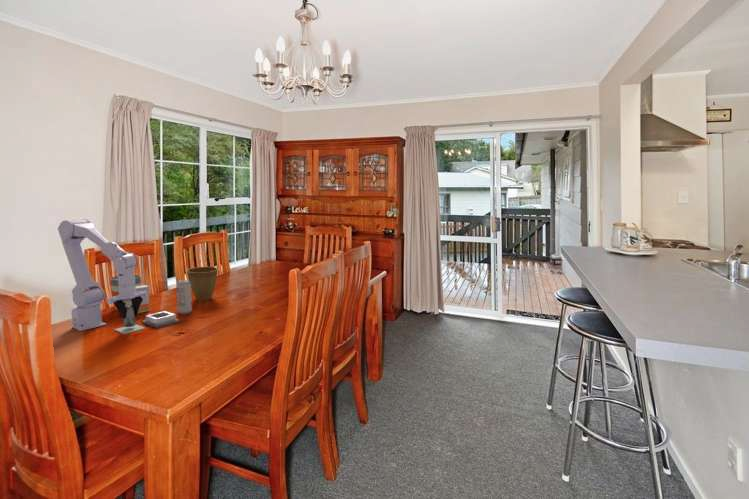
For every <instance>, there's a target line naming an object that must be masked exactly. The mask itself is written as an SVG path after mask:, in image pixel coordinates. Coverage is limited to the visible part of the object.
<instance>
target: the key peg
mask: <svg viewBox="0 0 749 499" xmlns="http://www.w3.org/2000/svg"><path fill="white" fill-rule="evenodd" d="M122 320H123V327H132V326H135V324H136V316H135V310H134V305H127V306H125V319H122Z"/></svg>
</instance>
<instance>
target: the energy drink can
mask: <svg viewBox="0 0 749 499" xmlns="http://www.w3.org/2000/svg"><path fill="white" fill-rule="evenodd" d="M175 287H176V304H177V312H178V314H181V315H186V314H190V313H191V312H192V311H193V303H192V288H191V284H190V282H189V279H181V280H177V283H176V286H175Z"/></svg>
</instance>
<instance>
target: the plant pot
mask: <svg viewBox="0 0 749 499" xmlns="http://www.w3.org/2000/svg"><path fill="white" fill-rule="evenodd" d="M218 271H219V268H217V267H215V266H198V267H192V268H188V269H186V274H187V277H188V280H189V282H190V284H191V292H192V293H193V295H194V297H195V299H196V301H200V302H201V301H209V300H211V299H212V298H213V295H214V292H215V288H216V285H217V284H216V283H217V278H218V273H219V272H218Z"/></svg>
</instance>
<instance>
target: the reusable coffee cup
mask: <svg viewBox="0 0 749 499" xmlns="http://www.w3.org/2000/svg"><path fill="white" fill-rule="evenodd" d="M109 282H110V283H109V284H110V286H111V294H112V295H111V297H114V296H117V295H119V285H118V275H116V276H113V277H110V281H109ZM141 283H142V278H141V275H138V274H135V286H141V285H142V284H141ZM123 301H124V303H126V304H125V306H127V305H132V302H131V299H128V300H123ZM116 310H117V311H118V309H117V308H116Z"/></svg>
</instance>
